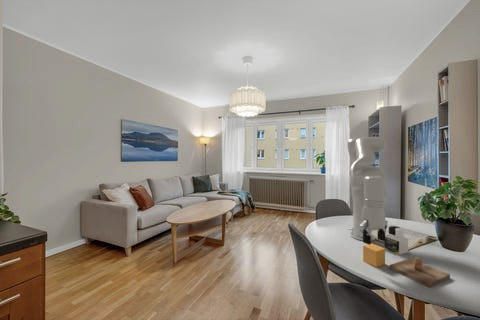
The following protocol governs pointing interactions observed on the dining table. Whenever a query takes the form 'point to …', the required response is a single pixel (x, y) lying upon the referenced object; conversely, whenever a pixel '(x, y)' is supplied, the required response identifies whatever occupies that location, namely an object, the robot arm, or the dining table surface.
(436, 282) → the walnut board
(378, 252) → the plain orange cube
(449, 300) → the dining table surface
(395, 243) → the medicine bottle
